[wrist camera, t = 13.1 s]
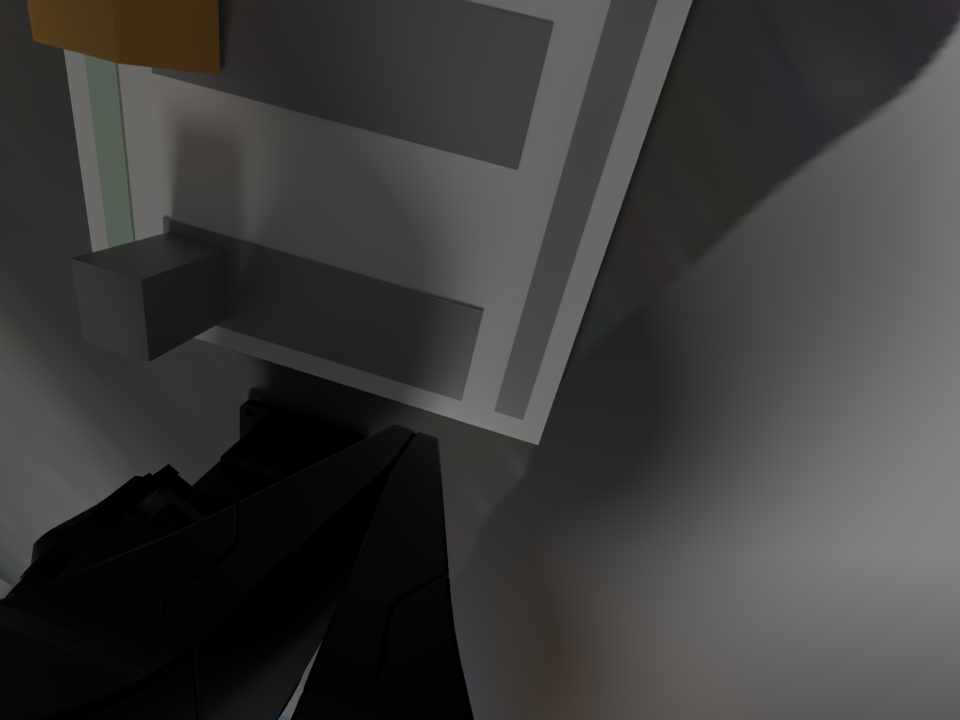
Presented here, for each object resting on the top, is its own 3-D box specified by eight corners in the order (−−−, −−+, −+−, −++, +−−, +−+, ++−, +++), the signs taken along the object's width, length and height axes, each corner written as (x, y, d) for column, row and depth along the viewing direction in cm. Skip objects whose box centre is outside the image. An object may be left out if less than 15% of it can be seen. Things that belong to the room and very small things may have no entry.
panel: (542, 419, 22) (524, 518, 17) (136, 294, 24) (-2, 347, 18) (838, -445, 11) (1071, -988, 6) (48, -566, 13) (-363, -1079, 7)
